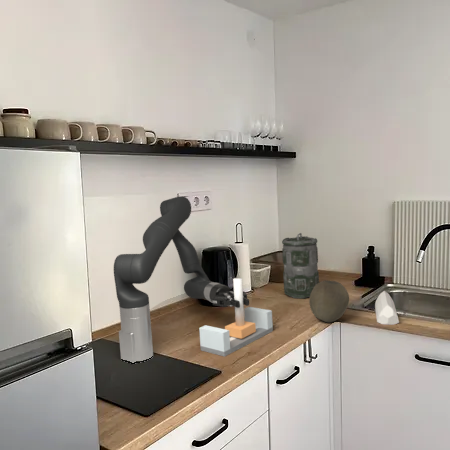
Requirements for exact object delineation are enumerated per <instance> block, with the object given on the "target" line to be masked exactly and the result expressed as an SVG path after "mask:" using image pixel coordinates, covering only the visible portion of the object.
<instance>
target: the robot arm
mask: <svg viewBox="0 0 450 450" xmlns="http://www.w3.org/2000/svg"><path fill="white" fill-rule="evenodd" d="M159 212H160V216H159V217H158V218H156V219H155V220H153V221H152V223H150V224H149V226H148V227H147V228H146V229H145V231H144V233H143V235H142V243H143V247H144V249H145V250H144V251H143V252H141V253H122V254H118V255H117V256H116V258H115V259H114V263H113V276H114V284H115V292H116V299H117V302H118V304H119V305H118V306H119V317H120V318H119V319H120V330H118V338H119V339H118V340H119V350H120V360H121V359H123V360H127V361H130V362H132V363H134V362H136V361H143V360H146V359H149V358H151V357H152V356H153V357H154V348H153V336H152V335H153V334H152V324H151V310H150V299H149V294H148V293H146V292H145V291H142V290H140V289H138V288H137V287H136V286H134V285H139V284H141V285H142V284H145V283H147V282H148V281H149V280H150V279H151V277H152V275H153V273H154V271H155V268H156V267H157V264H158V262H159V260H160V258H161V257H162V255H163V253H164V252H165V250H166V249H167V248H168V246H169V244H170V243H171V242H173V244H174V246H175V247H174V248H175V249H176V251H177V253H178V257H179V260H180V264H181V266H182V270H183V272H184V273H185V274H196V276H195V277H193V278H191V279H188V280H186V281H185V283H184V284H183V291H184V293H185V294H186V296H188V297H189V298H192V299H201V300H203V299H204V300H207V301H208V302H210V303H212V306H217V307H223V308H226V307H228V306H229V307H234V308H235V307H237V308H239V307H240V302H239V301H238V300H235V299H234V290H233V289H232V288H231V287H230V286H228V285H225V284H223V283H220V282H214V281H211V280H210V279H209V277H208V275H207V274H206V271H204V269H203V267H202V265H201V262H200V259H199V255H198V252H197V250H196V248H195V246H194V245H193V243H191V242H190V240H188V238H186V237H185V236H184V234H183V233H182V232H181V231H180V228H181V227H182V225H183V224H184V223H185V222H186V221H187V220H188V219H189V218H190V216H191V214H192V203H191V202H190V200H189V199H188V198H187V197H186V196H176V197H171V198H169V199H166V200H165V199H164V200H163V201H161V203H160V205H159ZM243 305H244V306H247V307H249V305H250V299H249V298H248V294H247V292H246V291H244V290H243ZM153 357H152V358H153ZM152 358H151V359H152ZM149 360H150V359H149Z"/></svg>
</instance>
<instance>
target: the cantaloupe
mask: <svg viewBox="0 0 450 450" xmlns="http://www.w3.org/2000/svg"><path fill="white" fill-rule="evenodd" d="M349 302H350V294H349V292H348V290H347V289H346V287H345V286H344V284H341V283H340V282H339V281H335V280H322V281H319V283H318V284H316V285H315V287H314V288H313V290H312V292H311V294H310V297H309V308H310V310H311V313H312V314H313V316H314V317H315V318H316V319H318V320H319V321H323V322H324V323H326V324H327V323H333V322H336V321H337V320H339V319H340V318H341V317H342V316H344V314H345V312H346V311H347V309H348V306H349Z"/></svg>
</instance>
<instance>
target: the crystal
mask: <svg viewBox="0 0 450 450" xmlns="http://www.w3.org/2000/svg"><path fill="white" fill-rule="evenodd" d="M374 308H375V309H374V310H375V315H376V316H375V317H376V323H379V324H381V325H388V326H389V325H392V326H393V325H396V324H400V321H399V320H400V319H399V317H398V312H397V310H396V305H395V301H394V300H393V298H392V297H391V295H390V294H389V293H388V292H387V291H386V290H383V291H382V292H380V294H379V295H378V297H377V298H376V300H375V303H374Z"/></svg>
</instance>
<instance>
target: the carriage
mask: <svg viewBox="0 0 450 450" xmlns="http://www.w3.org/2000/svg"><path fill="white" fill-rule="evenodd" d="M232 281H233V284H232V285H233V292H234V299H235V300H238V301H239V302H240V307H239V308H237V307H234V316H235V317H234V318H235V319H234V320H235V321H234V322H232V323H229V324H227V325H224V329H225V330H229V335H230V336H232V337H236V338H241V339H242V338H244V337H246V336H248V335H250V334H252V333H254V332H256V325H255V323H252V322H247V321H245V316H244V309H245V307H244V306H245V305H243V291H244V290H243V289H244V288H243V277H234V278H233V279H232Z"/></svg>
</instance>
